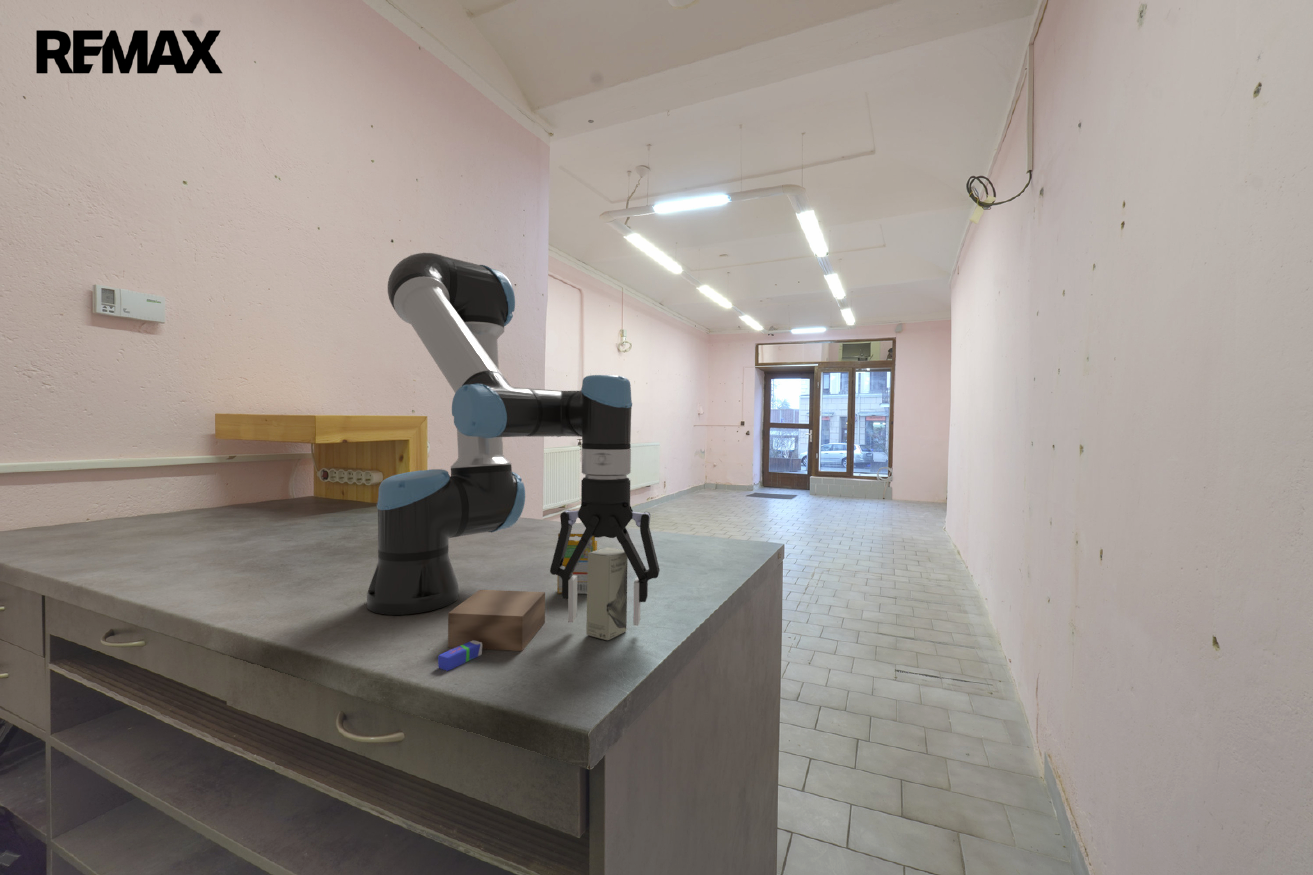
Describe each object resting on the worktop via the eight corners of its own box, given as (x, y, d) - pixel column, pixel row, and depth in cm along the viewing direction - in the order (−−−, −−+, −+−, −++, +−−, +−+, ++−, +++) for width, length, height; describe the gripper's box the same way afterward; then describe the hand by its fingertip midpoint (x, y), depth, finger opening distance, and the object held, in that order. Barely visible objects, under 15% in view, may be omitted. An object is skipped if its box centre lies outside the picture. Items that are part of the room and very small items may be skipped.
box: (607, 642, 80) (608, 556, 79) (585, 635, 82) (585, 552, 82) (628, 631, 84) (629, 549, 84) (606, 625, 87) (606, 546, 86)
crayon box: (597, 589, 105) (597, 531, 105) (595, 594, 102) (595, 534, 102) (560, 589, 105) (560, 530, 105) (557, 593, 102) (557, 533, 102)
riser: (448, 647, 77) (448, 613, 77) (479, 619, 88) (479, 589, 88) (522, 651, 76) (522, 616, 76) (544, 622, 87) (545, 592, 87)
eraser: (482, 656, 75) (482, 641, 75) (447, 673, 70) (447, 657, 70) (472, 653, 76) (472, 639, 76) (437, 669, 71) (437, 654, 71)
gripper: (528, 477, 79) (527, 626, 80) (676, 480, 78) (674, 633, 78) (543, 472, 87) (542, 609, 88) (678, 475, 85) (676, 615, 86)
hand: (604, 620), depth 83 cm, fingers open, 9 cm apart
